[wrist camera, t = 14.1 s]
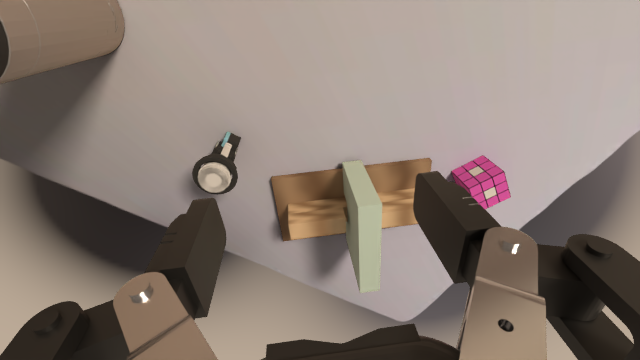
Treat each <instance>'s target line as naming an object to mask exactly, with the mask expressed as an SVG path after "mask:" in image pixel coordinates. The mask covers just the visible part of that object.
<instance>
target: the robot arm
mask: <svg viewBox="0 0 640 360" xmlns="http://www.w3.org/2000/svg"><path fill="white" fill-rule="evenodd" d="M123 35H124V18H123V15H122V11H121V8H120V6H119V4H118V2H117V0H0V84H3V83H6V82H10V81H13V80H17V79H20V78H23V77H27V76H31V75H34V74H38V73H42V72H45V71H49V70H52V69H56V68H60V67H63V66H67V65H71V64H74V63H78V62H81V61H86V60H89V59H93V58H96V57H100V56H103V55H106V54H109V53H111V52H112V51H114V50H115V49H116V48H117V47H118V46H119V45H120V43H121V41H122V38H123ZM413 211H414V216H415V219H416V221H417V222H418V224H419V226H420V227H421V229H422V231H423V232H424V234H425V236H426V237H427V239H428V241H429V242H430V244H431V246H432V247H433V249H434V251H435V252H436V254H437V256H438V257H439V259H440V260H441V262H442V264H443V265H444V267H445V269H446V270H447V272H448V274H449V275H450V277H451V279H452V280H453V282H454V283H463V282H467V283H468V284H469V286H470V290H469V294H468V298H467V303H466V308H465V312H464V316H463V321H462V325H461V330H460V334H459V338H458V342H457V346H456V348H454V347H452V346H450V345H448V344H446V343H444V342H442V341H439V340H436V339H433V338H429V337H425V336H419V335H418V332H417V330H416V327H415V325H414V324H408V325H401V326H394V327H387V328H380V329H377V330H374V331H372V332H370V333H367V334H365V335H363V336H360V337H358V338H356V339H353V340H351V341H349V342H346V343H342V344H339V343H330V342H321V341H312V340H297V341H289V342H282V343H275V344H268V345H267V351H266V358H264V359H261V360H547V343H546V318H547V319H548V321H549V322H550V323H551V324H552V326H553V327H554V329H555V330H556V331H557V333H558V334H559V335H560V337H561V338H562V339H563V340H564V342H565V343H566V344H567V346H568V347H569V348H570V350H571V351H572V352H573V353H574V355H575V356H576V358H577V359H578V360H640V262H639V261H638V260H637V259H636V258H634V257H633V256H632V255H630V254H629V253H628V252H627V251H625V250H624V249H623V248H621V247H620V246H618V245H617V244H615V243H613V242H611V241H609V240H606V239H604V238H601V237H598V236H593V235H587V234H578V235H573V236H571V237H570V238H569V239H568V241H567V243H566V245H565V247H560V246H550V245H539V244H536V243H535V241H534V240H533V239H532V238H531V237H529V236H528V235H526V234H525V233H523V232H521V231H518V230H516V229H512V228H508V227H501V226H500V224H499V223H498V222H497V221H496V220H495V219H494V218H493V217H492V216H491V215H490V214H489V213H488V212H487V211H486V210H485V209H484V208H483V207H482V206H481V205H480V204H478V202H477V201H476V200H475V199H474V198H472V196H471V195H470V194H469V193H468V191H467V190H466V189H465V188H463V187H461V186H459V185H458V184H456V183H454V182H447V180H446V179H445V178H444V177H443V176H442V175H441V174H440V173H439V172H438V171H433V172H425V173H418V174H417V176H416V181H415V191H414V201H413ZM225 245H226V231H225V227H224V224H223V221H222V218H221V214H220V211H219V208H218V205H217V202H216V200H215V199H214V198H207V199H198V200H193V201H192V203H191V205H190V207H189V209H188V211H187V213H186V214H181V215H179V216H178V217H177V218H176V219H175V220H174V221H173V222H172V223H171V224H170V226H169V227H168V229H167V231H166V233H165V236H164V237H163V239H162V241H161V244H160V245H159V246H158V248H157V250H156V252H155V254H154V256H153V258H152V259H151V262H150V263H149V265H148V267H147V269H146V271H145V273H144V274H141V275H139V276H137V277H135V278H133V279H131V280H130V281H128V282H127V283H126V284H124V285H123V286H122V287H121V288H120V289H119V291H118V292H117V293H116V295H115V297H114V300H111V301H109V302H106V303H104V304H101V305H98V306H95V307H93V308H90V309H87V310H84V311H83V310H82V308H81V307H80V306H79V305H78V304H77V303H76V302H71V301H67V302H61V303H58V304H55V305H52V306H50V307H48V308H46V309H44V310H42V311H41V312H39V313H38V314H36V315H35V316H34V317H32V318H31V319H30V320H29V321H28V322H27V323H26V324H25V325H24V326H23V327H22V328H21V329H20V330H19V332H18V333H17V334H16V336H15V337H14V338H13V340H12V341H11V342H10V344H9V345H8V346H7V348H6V349H5V350H4V352H3V353H2V354H1V355H0V360H218V359H217V357H216V356H215V354H214V352H213V351H212V349H211V348H210V346H209V344H208V343H207V341H206V339H205V338H204V336H203V335H202V333H201V331H200V330H199V328H198V327H197V325H196V323H195V322H194V320H195V318H201V317H207V315H208V311H209V308H210V303H211V300H212V296H213V292H214V288H215V284H216V280H217V276H218V272H219V268H220V264H221V260H222V256H223V253H224V249H225ZM605 305H606V306H607V307H608V308H609V309H610V310H611V311H612V312H613V313H614V314H615V315H616V316H617V317H618V318H619V319H620V320H621V321H622V322H623V323H624V324H625V325H626V326H627V327H628V329H629V330H630V332H631V334H632V336H633V339H634V344H633V343H632V342H631V341H630V340H629V339H628V338H627V337H626V336H625V335H624V333H622V331H620V329H619V328H618V327H617V326H616V325H615V324H614V323H613V322H612V321H611V320H610V319H609V318H608V317H607V316H606V315H605V314H604V313H603V312H602V309H603V308H604V306H605Z"/></svg>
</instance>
